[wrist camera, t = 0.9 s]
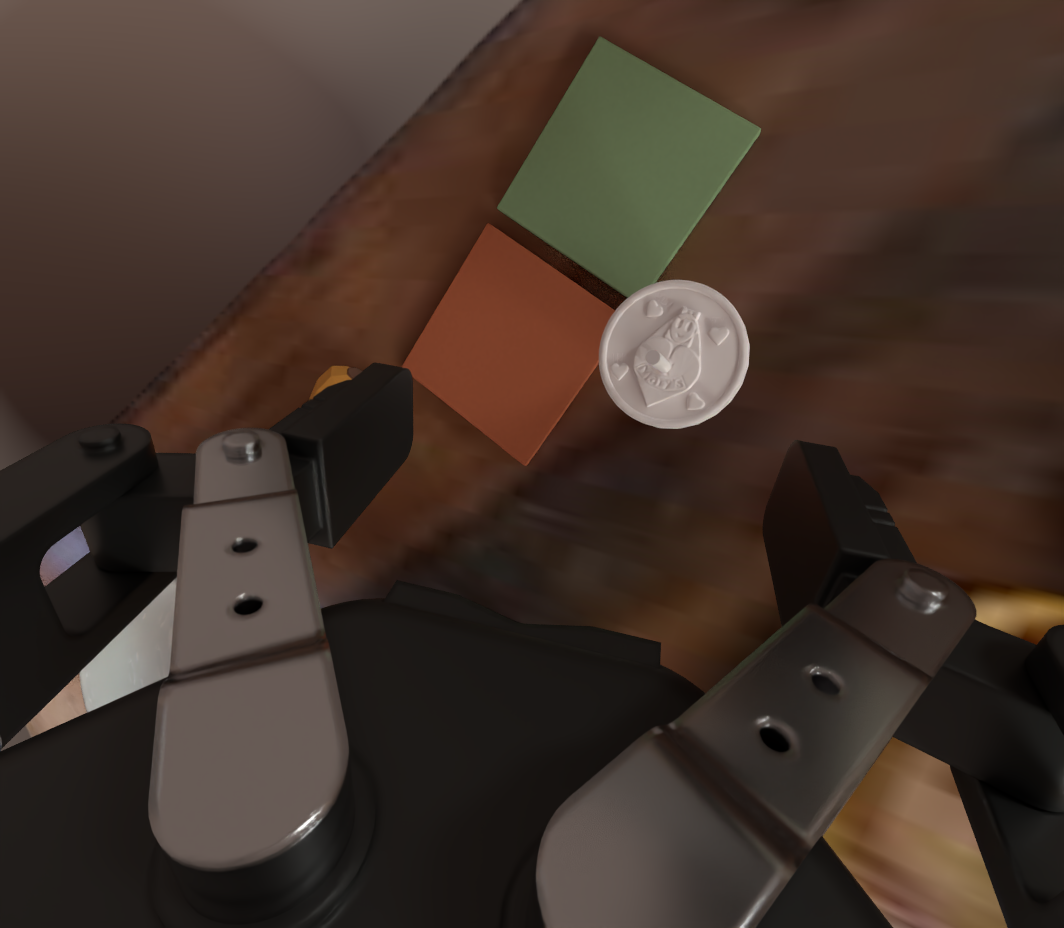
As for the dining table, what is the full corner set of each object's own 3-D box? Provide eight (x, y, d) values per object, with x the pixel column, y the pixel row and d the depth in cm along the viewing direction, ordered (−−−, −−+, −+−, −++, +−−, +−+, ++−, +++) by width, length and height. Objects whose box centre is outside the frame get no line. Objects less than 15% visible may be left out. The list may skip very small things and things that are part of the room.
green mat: (601, 41, 34) (599, 35, 33) (760, 133, 31) (761, 128, 31) (499, 211, 37) (496, 207, 36) (639, 306, 34) (637, 304, 34)
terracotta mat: (491, 225, 37) (487, 222, 36) (629, 320, 35) (627, 319, 34) (405, 368, 40) (400, 367, 39) (527, 465, 37) (524, 466, 37)
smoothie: (613, 399, 35) (545, 390, 22) (658, 298, 34) (614, 224, 21) (713, 443, 34) (704, 461, 20) (764, 339, 32) (790, 286, 19)
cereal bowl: (145, 563, 49) (54, 587, 42) (301, 539, 44) (224, 561, 37) (185, 757, 49) (100, 810, 43) (344, 756, 44) (276, 817, 37)
